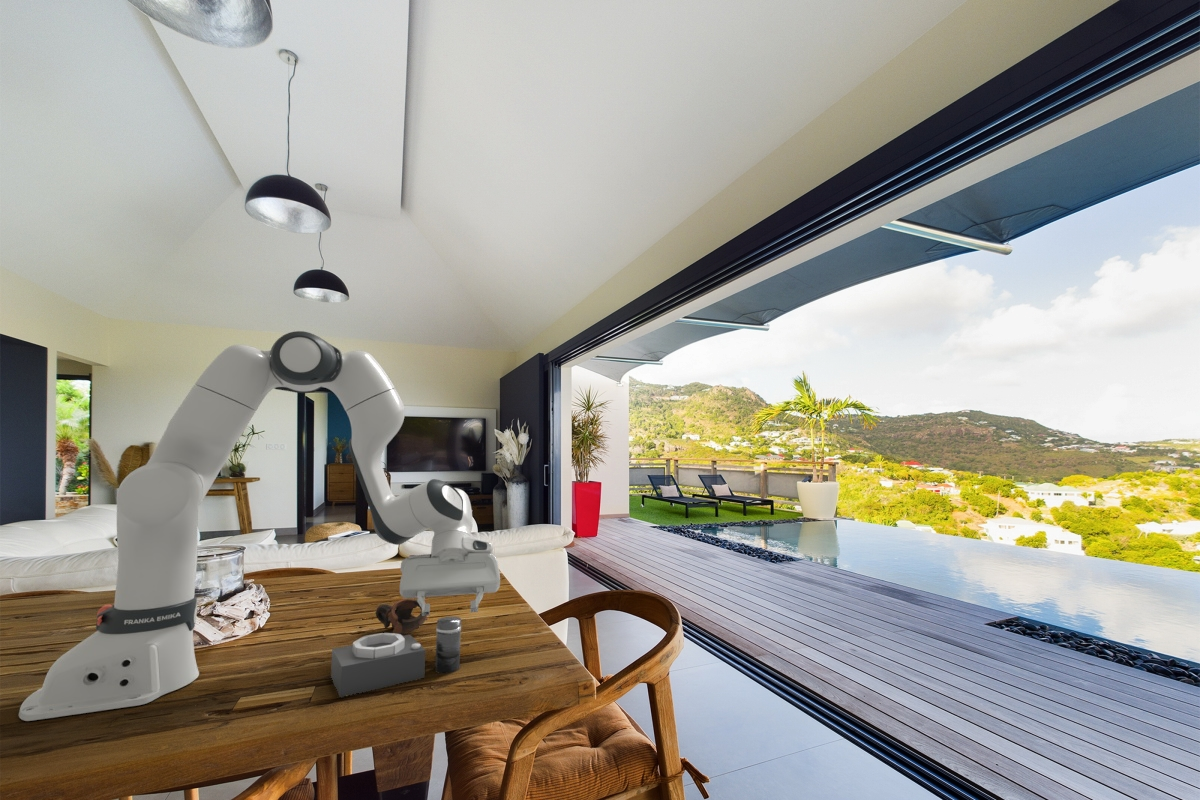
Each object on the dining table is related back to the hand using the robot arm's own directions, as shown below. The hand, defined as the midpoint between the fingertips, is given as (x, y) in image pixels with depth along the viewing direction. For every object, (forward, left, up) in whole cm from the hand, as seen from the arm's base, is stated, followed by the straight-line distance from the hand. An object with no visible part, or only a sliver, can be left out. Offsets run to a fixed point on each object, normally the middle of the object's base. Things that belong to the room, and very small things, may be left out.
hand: (450, 612), depth 107 cm
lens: (-2, -4, -9) cm, 10 cm away
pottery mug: (-3, +23, -9) cm, 25 cm away
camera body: (-14, -1, -9) cm, 16 cm away
